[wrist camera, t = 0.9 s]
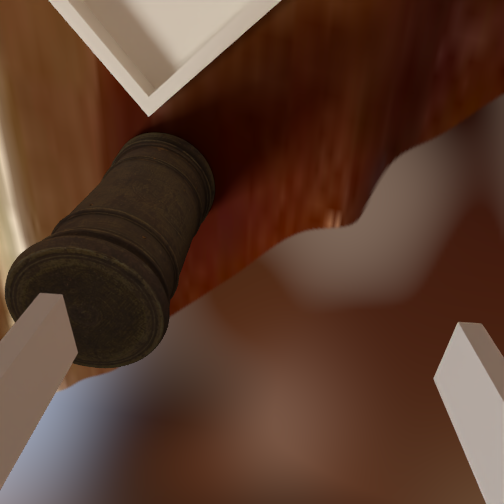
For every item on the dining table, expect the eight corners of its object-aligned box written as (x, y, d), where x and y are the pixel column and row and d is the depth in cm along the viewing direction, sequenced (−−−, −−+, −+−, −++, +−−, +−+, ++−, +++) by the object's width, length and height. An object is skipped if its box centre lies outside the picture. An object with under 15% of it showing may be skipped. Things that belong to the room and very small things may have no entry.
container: (128, 114, 32) (-3, 210, 17) (230, 156, 34) (192, 280, 19) (107, 205, 37) (-12, 345, 22) (198, 239, 38) (146, 392, 23)
